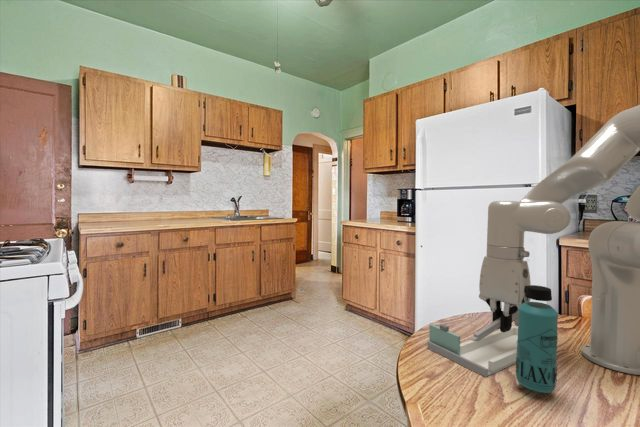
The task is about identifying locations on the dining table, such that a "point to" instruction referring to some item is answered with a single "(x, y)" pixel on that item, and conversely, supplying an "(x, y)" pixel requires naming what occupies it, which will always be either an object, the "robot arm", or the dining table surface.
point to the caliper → (492, 328)
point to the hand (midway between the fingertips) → (501, 329)
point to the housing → (485, 352)
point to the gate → (444, 338)
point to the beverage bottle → (537, 342)
